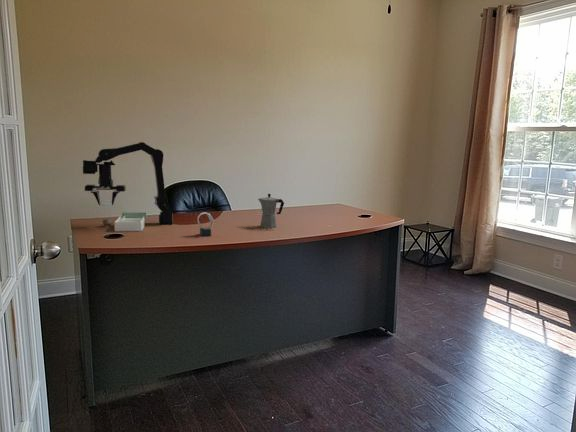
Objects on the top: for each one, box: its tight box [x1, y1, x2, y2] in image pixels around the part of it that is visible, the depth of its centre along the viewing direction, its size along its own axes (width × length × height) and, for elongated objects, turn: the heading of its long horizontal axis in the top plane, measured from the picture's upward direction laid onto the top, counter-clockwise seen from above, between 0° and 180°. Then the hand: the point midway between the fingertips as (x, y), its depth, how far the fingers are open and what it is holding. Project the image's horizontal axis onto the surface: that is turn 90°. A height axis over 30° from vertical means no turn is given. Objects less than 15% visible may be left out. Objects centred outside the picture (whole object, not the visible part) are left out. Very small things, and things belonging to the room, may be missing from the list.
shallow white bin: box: [114, 216, 146, 232], centre depth 228 cm, size 12×16×4 cm
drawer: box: [120, 211, 148, 222], centre depth 237 cm, size 12×16×4 cm
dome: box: [99, 199, 113, 207], centre depth 229 cm, size 6×6×2 cm
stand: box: [102, 218, 112, 228], centre depth 230 cm, size 4×4×4 cm
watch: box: [196, 212, 215, 237], centre depth 218 cm, size 6×8×11 cm
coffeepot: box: [257, 193, 285, 229], centre depth 244 cm, size 15×9×18 cm, turn 66°
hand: (106, 204), depth 229 cm, fingers closed on dome, 6 cm apart
